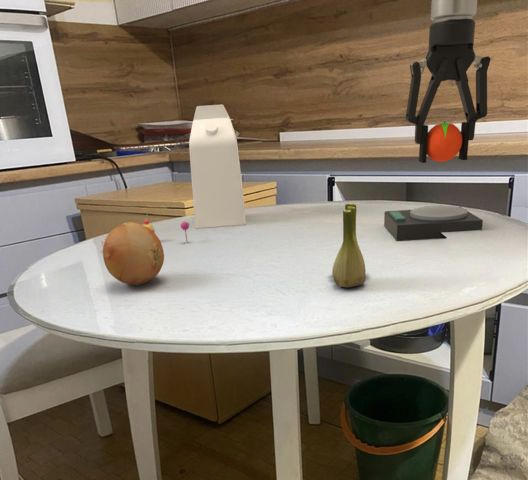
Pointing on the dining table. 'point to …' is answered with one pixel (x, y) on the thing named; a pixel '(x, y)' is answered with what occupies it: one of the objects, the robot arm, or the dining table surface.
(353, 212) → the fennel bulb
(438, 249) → the dining table surface
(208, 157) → the milk
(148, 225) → the candy
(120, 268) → the onion
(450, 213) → the scale
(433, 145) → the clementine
